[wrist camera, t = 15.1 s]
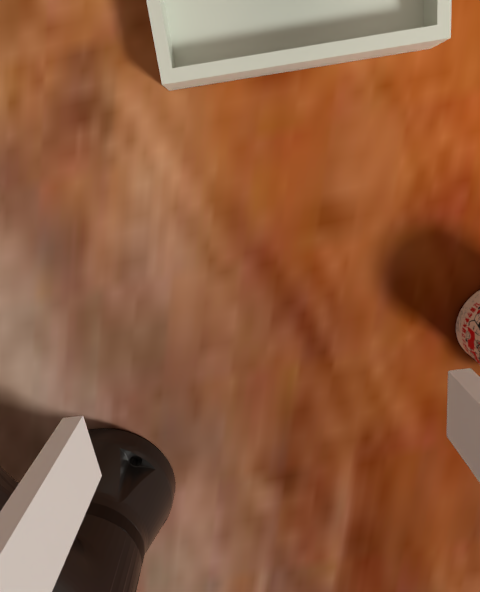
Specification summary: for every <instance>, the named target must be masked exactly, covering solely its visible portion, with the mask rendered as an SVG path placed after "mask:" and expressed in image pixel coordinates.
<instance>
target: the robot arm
mask: <svg viewBox="0 0 480 592" xmlns="http://www.w3.org/2000/svg"><path fill="white" fill-rule="evenodd" d="M447 437H448V439H449V440H450V441H451V443H452V444H453V446H454V447H455V448H456V450H457V451H458V453H459V454H460V455H461V457H462V458H463V460H464V461H465V462H466V464H467V465H468V467H469V468H470V469H471V471H472V472H473V474H474V475H475V476H476V478H477V479H478V481H479V482H480V377H479V376H478V375H477V374H476V373H475V372H474V371H473V370H472V369H471V368H468V369H460V370H452V371H448V401H447ZM174 493H175V477H174V473H173V470H172V468H171V466H170V464H169V462H168V460H167V459H166V457H165V456H164V455H163V454H162V453H161V451H160V450H159V449H157V448H156V447H155V446H154V445H153V444H151V443H150V442H148V441H147V440H145V439H143V438H141V437H139V436H137V435H135V434H132V433H129V432H126V431H122V430H116V429H92V430H87V426H86V423H85V420H84V417H83V416H75V417H67V418H62V420H61V421H60V423H59V424H58V426H57V427H56V429H55V430H54V432H53V433H52V435H51V436H50V438H49V439H48V441H47V442H46V444H45V445H44V447H43V448H42V450H41V451H40V453H39V454H38V456H37V457H36V459H35V460H34V462H33V463H32V465H31V466H30V468H29V469H28V471H27V472H26V474H25V475H24V477H23V478H22V480H21V481H20V483H18V482H16V481H15V480H14V479H13V478H12V477H11V476H10V475H9V474H8V473H7V472H6V471H5V470H3V469H2V468H1V467H0V592H136V590H137V585H138V581H139V576H140V572H141V567H142V563H143V559H144V555H145V553H146V551H147V550H148V548H149V547H150V545H151V543H152V542H153V540H154V539H155V537H156V536H157V534H158V532H159V531H160V529H161V527H162V526H163V524H164V523H165V521H166V520H167V518H168V516H169V513H170V511H171V508H172V503H173V498H174Z"/></svg>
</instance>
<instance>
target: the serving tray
mask: <svg viewBox="0 0 480 592" xmlns="http://www.w3.org/2000/svg"><path fill="white" fill-rule="evenodd" d="M146 1H147V7H148V12H149V17H150V23H151V28H152V34H153V39H154V44H155V50H156V55H157V61H158V66H159V71H160V77H161V82H162V85H163V86H164V87H165V88H167V89H168V90H169V91H171V90H177V89H183V88H189V87H196V86H202V85H208V84H214V83H220V82H227V81H233V80H239V79H245V78H251V77H258V76H264V75H270V74H276V73H282V72H289V71H295V70H301V69H307V68H313V67H320V66H326V65H332V64H338V63H344V62H351V61H357V60H363V59H369V58H375V57H382V56H388V55H394V54H400V53H406V52H413V51H419V50H425V49H431V48H433V47H435V46H437V45H438V44H440V43H442V42H444V41H446V40H448V39H450V38H451V0H146Z"/></svg>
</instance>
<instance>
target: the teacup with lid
mask: <svg viewBox="0 0 480 592" xmlns="http://www.w3.org/2000/svg"><path fill="white" fill-rule="evenodd" d="M456 335H457V339H458V342H459V344H460V345H461V347H462V348H463V350H464V351H465V352H466V353H468V354H469V355H470V356H471V357H472V358H473V359H474V360H475V361H476V362H477V363H479V364H480V290H479V291H477V292H476V293H475V294H473V295H472V296H471V297H470V298H469V299H468V300H467V301H466V303H465V304H464V305H463V307H462V308H461V310H460V312H459V315H458V317H457V321H456Z"/></svg>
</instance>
